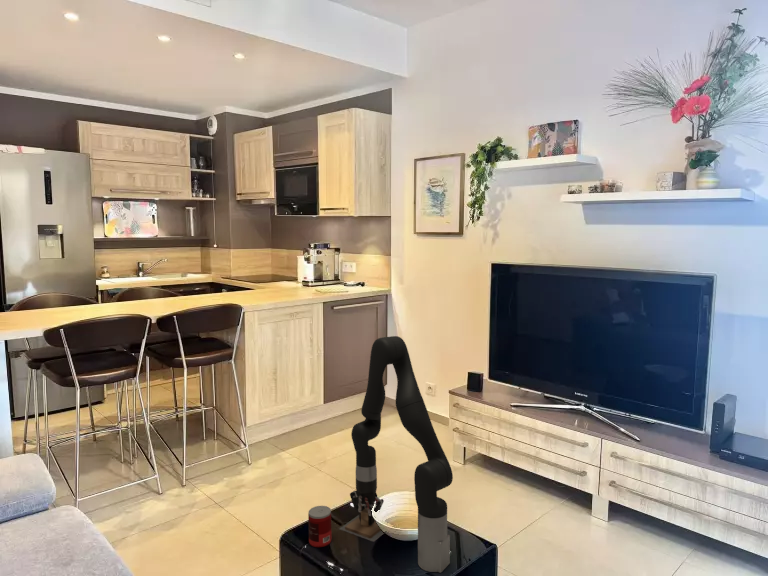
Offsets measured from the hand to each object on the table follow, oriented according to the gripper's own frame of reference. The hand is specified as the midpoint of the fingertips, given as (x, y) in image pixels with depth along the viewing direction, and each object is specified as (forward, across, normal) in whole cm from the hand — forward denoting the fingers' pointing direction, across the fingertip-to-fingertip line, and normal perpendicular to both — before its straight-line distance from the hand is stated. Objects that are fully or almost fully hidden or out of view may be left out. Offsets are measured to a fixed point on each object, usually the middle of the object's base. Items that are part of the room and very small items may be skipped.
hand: (366, 522), depth 191 cm
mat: (+2, 0, 0) cm, 2 cm away
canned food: (+2, +8, +16) cm, 18 cm away
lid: (+2, 0, 0) cm, 2 cm away
